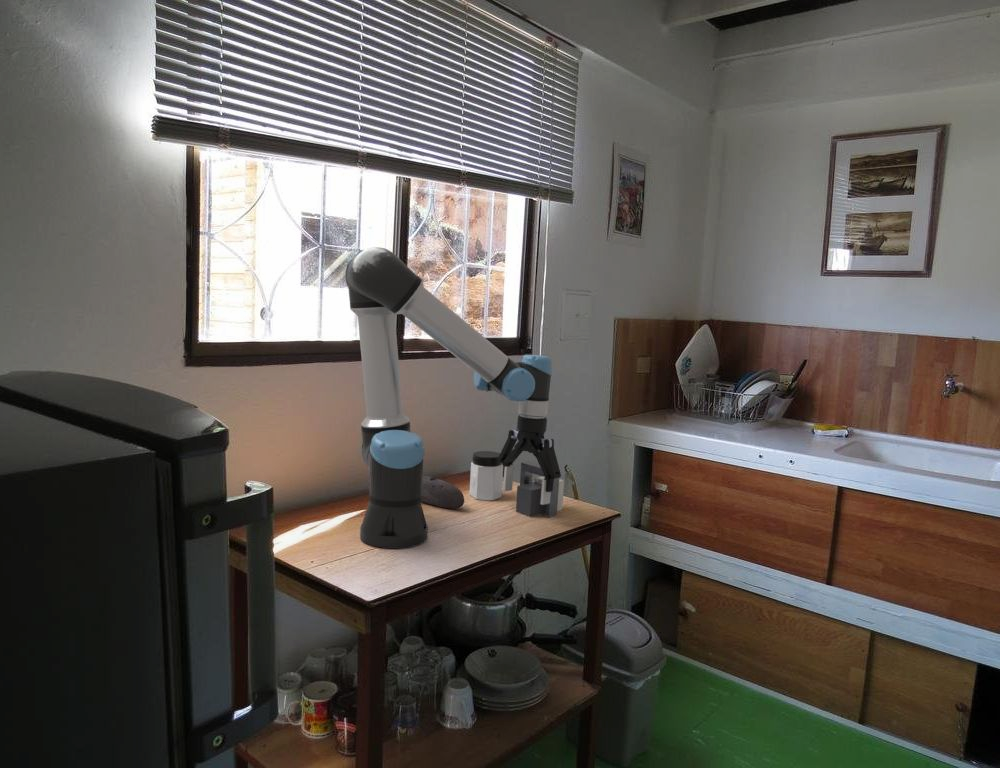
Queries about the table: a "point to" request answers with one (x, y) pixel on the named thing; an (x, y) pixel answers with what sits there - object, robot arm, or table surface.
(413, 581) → the table surface
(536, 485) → the plug
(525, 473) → the frame
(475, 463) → the jar
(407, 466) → the robot arm
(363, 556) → the table surface
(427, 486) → the perforated stone tool
